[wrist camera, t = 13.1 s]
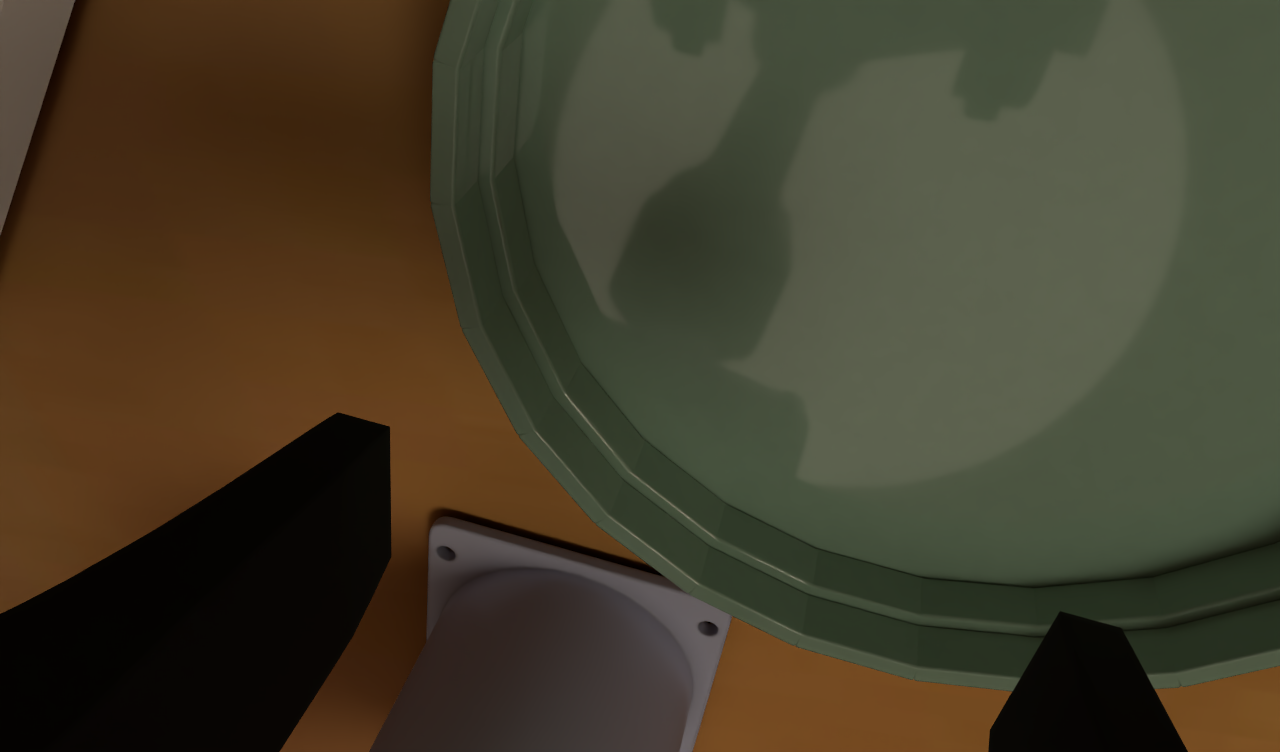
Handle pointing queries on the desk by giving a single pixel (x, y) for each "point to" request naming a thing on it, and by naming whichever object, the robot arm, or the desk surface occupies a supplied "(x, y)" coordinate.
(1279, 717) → the desk surface
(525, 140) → the green round tray
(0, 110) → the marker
